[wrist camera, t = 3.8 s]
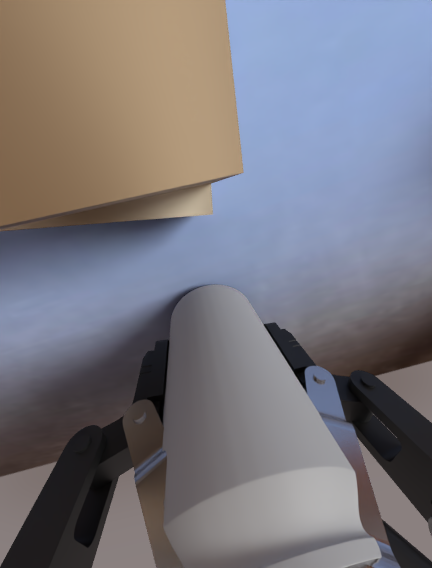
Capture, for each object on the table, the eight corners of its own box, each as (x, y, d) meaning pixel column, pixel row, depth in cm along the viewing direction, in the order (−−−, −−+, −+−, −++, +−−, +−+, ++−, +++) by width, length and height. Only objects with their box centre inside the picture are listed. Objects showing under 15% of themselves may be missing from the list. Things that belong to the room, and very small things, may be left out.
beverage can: (188, 353, 16) (202, 646, 6) (157, 296, 13) (66, 688, 3) (255, 329, 16) (387, 574, 6) (238, 267, 13) (450, 540, 3)
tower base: (178, -85, 7) (176, -392, 3) (202, 207, 11) (212, 214, 8) (-159, -128, 5) (-775, -712, 2) (21, 221, 10) (-65, 236, 6)
